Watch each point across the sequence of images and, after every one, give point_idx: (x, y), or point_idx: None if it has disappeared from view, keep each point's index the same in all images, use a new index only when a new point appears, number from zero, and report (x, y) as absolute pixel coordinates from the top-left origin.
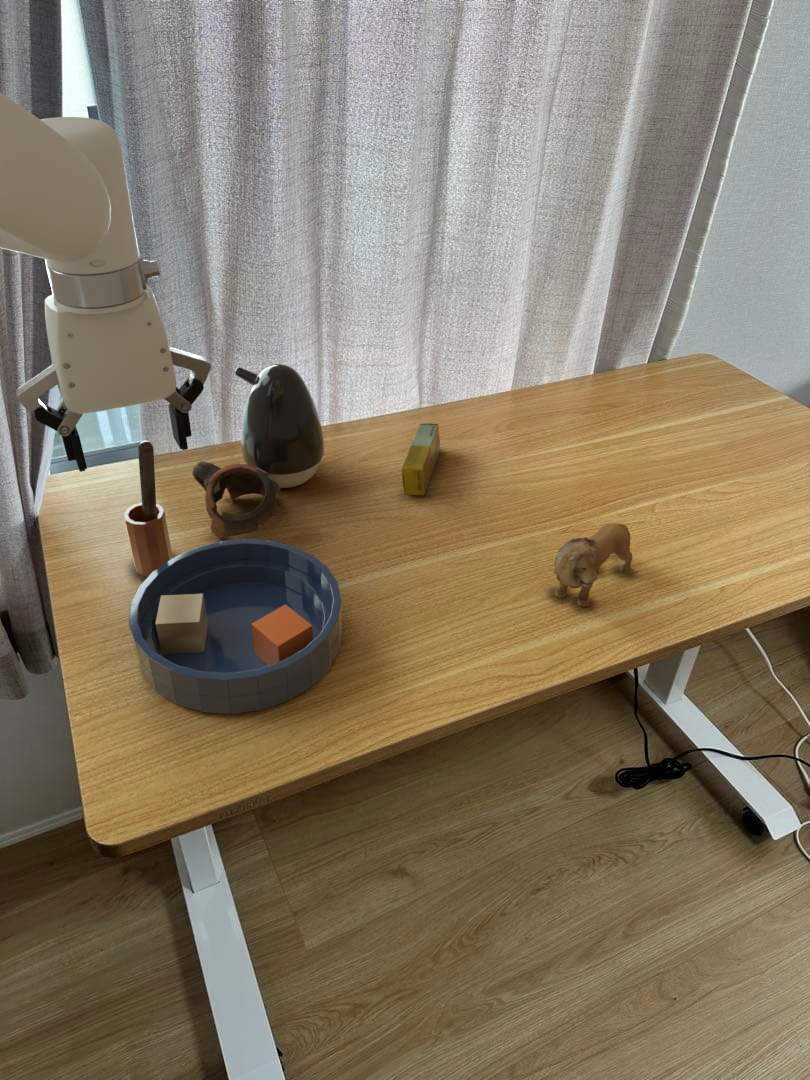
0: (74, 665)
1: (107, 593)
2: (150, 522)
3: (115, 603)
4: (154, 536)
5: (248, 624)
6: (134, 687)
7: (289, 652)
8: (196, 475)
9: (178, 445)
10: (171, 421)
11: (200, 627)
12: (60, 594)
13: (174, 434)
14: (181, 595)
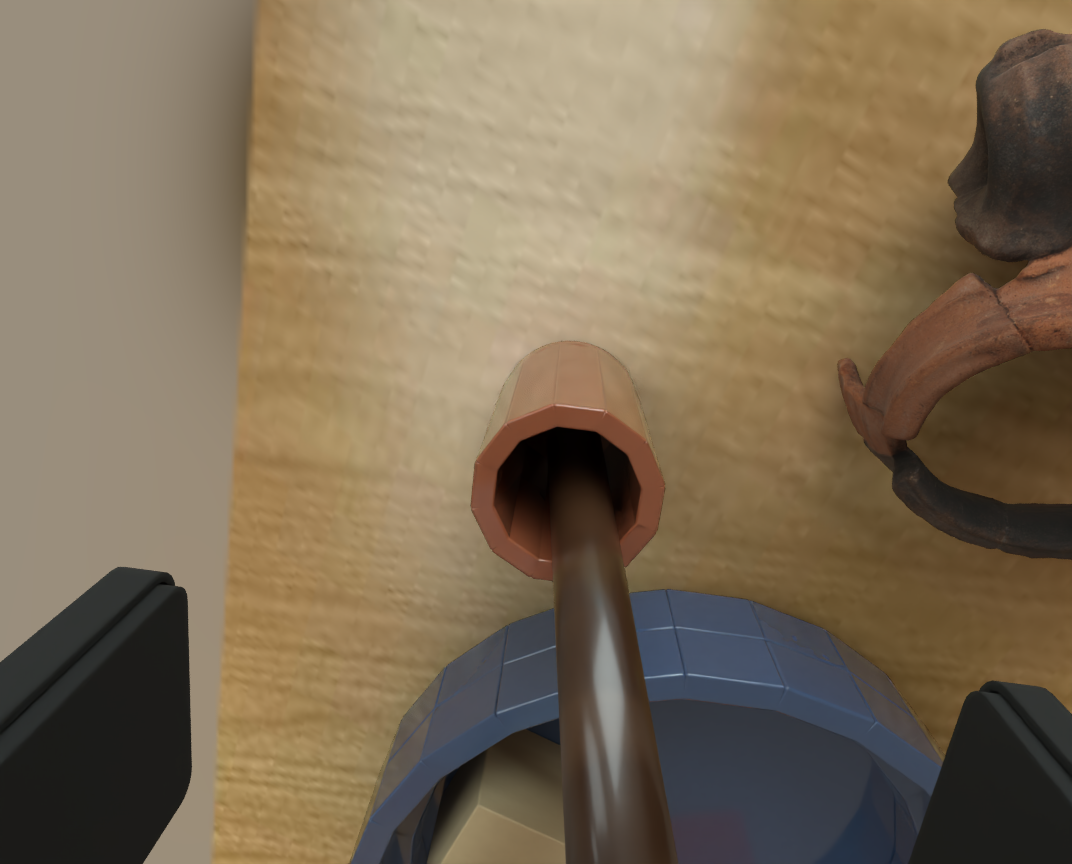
0: (231, 690)
1: (382, 462)
2: None
3: (393, 520)
4: None
5: (693, 819)
6: (352, 824)
7: None
8: (987, 138)
9: (924, 831)
10: (1065, 841)
11: None
12: (242, 386)
13: (980, 785)
14: (535, 838)
